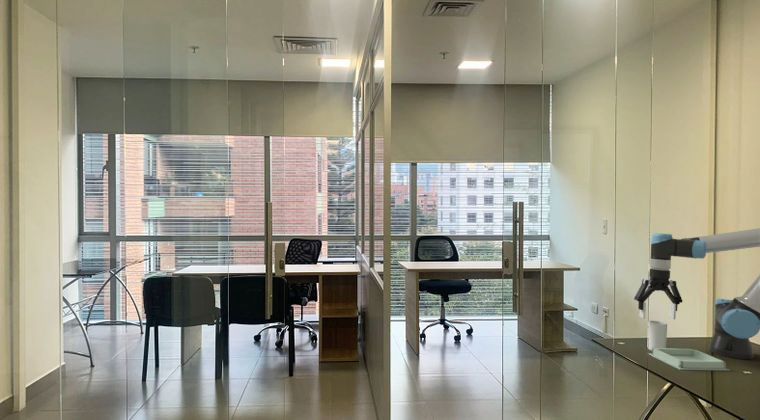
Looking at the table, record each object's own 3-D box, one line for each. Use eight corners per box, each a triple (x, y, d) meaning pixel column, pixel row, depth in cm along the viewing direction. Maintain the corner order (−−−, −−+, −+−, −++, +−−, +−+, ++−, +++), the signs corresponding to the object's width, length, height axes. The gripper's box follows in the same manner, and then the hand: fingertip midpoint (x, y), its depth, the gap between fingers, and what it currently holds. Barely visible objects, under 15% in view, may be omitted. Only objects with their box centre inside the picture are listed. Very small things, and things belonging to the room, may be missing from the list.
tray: (693, 355, 186) (693, 348, 186) (730, 370, 168) (730, 362, 168) (647, 354, 185) (648, 347, 185) (679, 369, 167) (680, 362, 167)
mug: (666, 353, 187) (667, 325, 187) (647, 350, 190) (648, 322, 190) (666, 348, 195) (667, 320, 195) (648, 345, 199) (649, 318, 199)
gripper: (681, 269, 197) (678, 316, 197) (626, 266, 196) (624, 314, 196) (694, 271, 190) (691, 321, 190) (637, 268, 188) (635, 319, 188)
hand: (657, 318), depth 193 cm, fingers open, 13 cm apart
